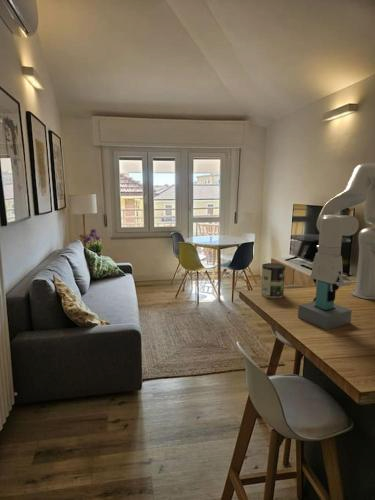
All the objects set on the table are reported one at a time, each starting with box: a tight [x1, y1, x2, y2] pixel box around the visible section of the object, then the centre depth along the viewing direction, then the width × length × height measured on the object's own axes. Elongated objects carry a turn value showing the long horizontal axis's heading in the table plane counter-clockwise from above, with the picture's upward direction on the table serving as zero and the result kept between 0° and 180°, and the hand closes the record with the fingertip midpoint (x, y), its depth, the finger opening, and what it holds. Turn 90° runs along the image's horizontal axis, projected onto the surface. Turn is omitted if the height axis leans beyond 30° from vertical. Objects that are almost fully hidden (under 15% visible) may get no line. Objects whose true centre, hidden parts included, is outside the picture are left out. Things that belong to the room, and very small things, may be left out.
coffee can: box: [260, 262, 286, 299], centre depth 149 cm, size 10×10×14 cm
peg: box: [315, 280, 335, 310], centre depth 119 cm, size 4×4×10 cm
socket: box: [297, 301, 353, 331], centre depth 120 cm, size 13×13×5 cm
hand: (325, 298), depth 119 cm, fingers closed on peg, 4 cm apart
